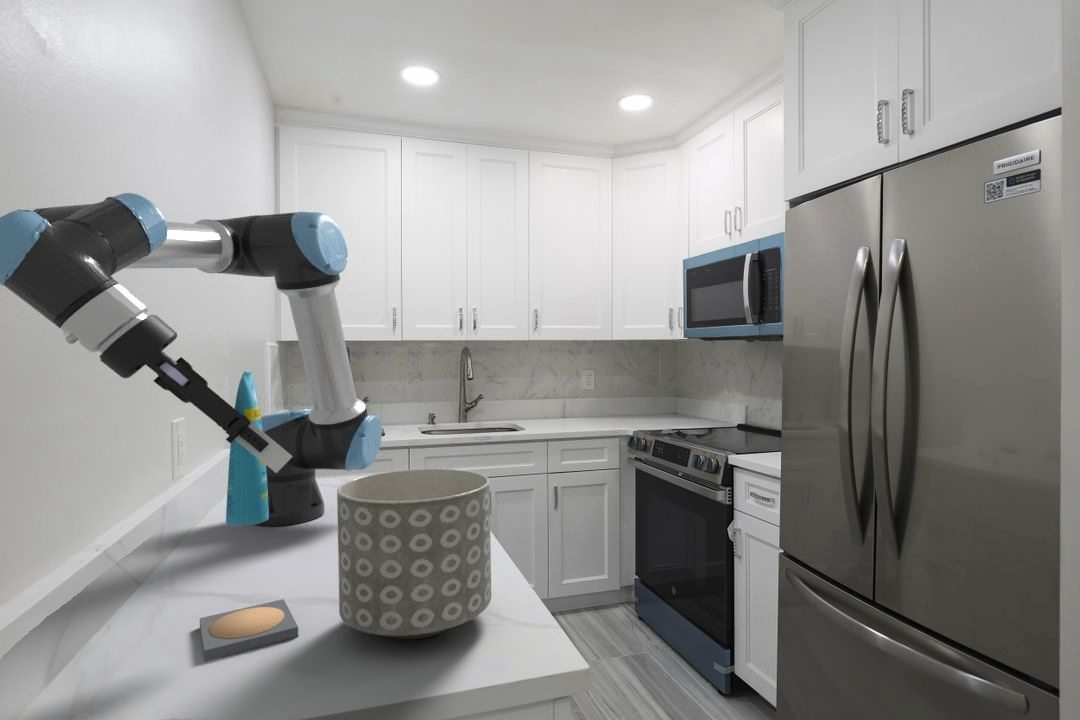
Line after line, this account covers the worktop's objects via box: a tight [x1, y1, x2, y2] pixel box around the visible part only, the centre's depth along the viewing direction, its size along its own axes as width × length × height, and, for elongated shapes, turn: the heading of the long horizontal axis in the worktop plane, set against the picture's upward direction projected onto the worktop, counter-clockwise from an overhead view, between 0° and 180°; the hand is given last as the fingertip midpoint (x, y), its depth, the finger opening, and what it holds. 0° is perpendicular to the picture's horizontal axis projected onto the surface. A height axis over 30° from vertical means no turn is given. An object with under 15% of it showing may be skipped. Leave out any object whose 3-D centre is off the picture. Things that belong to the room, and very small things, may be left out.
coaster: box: [199, 598, 299, 662], centre depth 72 cm, size 10×10×1 cm
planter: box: [336, 468, 492, 640], centre depth 74 cm, size 19×19×18 cm
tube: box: [225, 370, 269, 527], centre depth 73 cm, size 7×5×19 cm, turn 26°
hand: (279, 460), depth 75 cm, fingers closed on tube, 6 cm apart
